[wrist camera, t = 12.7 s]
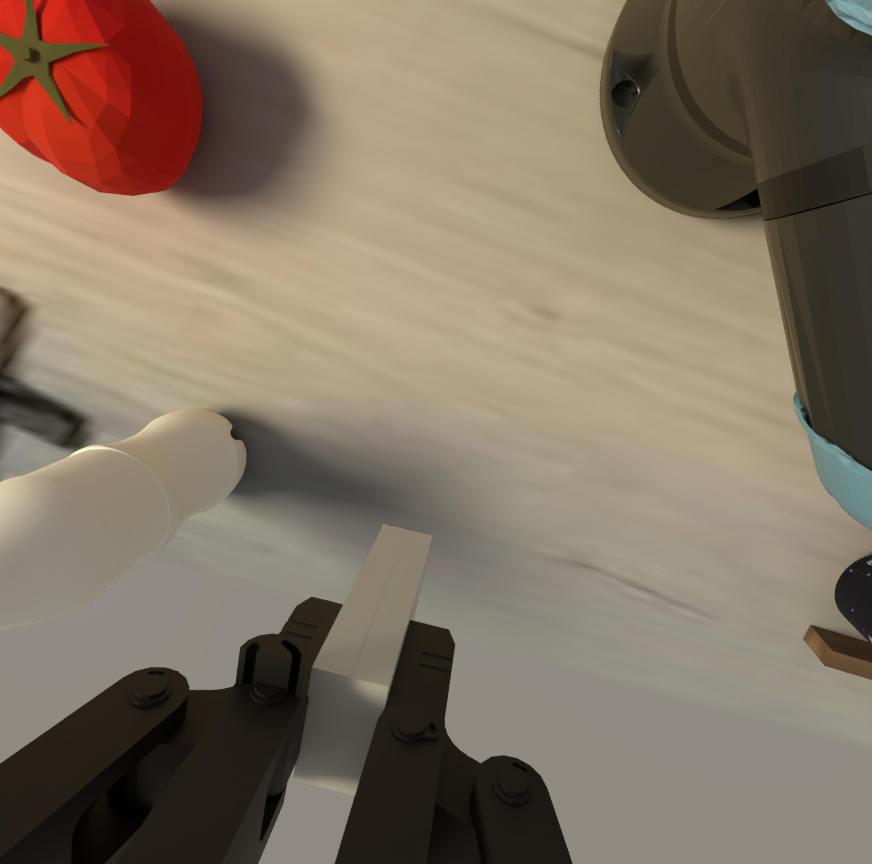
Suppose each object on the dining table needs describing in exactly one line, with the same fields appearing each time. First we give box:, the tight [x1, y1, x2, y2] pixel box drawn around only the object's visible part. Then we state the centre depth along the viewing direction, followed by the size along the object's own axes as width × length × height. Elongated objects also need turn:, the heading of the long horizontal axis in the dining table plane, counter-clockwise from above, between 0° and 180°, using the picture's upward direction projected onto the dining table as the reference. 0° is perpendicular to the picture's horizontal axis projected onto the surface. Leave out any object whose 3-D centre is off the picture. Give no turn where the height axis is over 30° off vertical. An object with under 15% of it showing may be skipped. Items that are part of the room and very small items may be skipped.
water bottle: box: [0, 409, 247, 629], centre depth 32 cm, size 7×7×25 cm
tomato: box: [0, 0, 204, 196], centre depth 33 cm, size 11×13×10 cm
